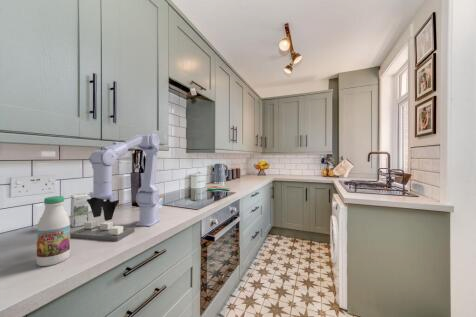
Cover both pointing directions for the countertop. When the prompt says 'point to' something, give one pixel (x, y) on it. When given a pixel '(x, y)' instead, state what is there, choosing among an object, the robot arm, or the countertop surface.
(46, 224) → the milk bottle
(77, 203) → the syrup box
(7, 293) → the countertop surface
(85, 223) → the switch
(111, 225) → the switch
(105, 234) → the switch panel
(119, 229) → the switch
